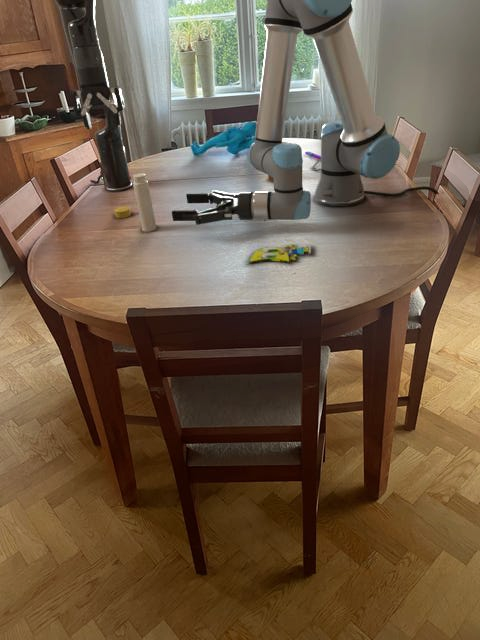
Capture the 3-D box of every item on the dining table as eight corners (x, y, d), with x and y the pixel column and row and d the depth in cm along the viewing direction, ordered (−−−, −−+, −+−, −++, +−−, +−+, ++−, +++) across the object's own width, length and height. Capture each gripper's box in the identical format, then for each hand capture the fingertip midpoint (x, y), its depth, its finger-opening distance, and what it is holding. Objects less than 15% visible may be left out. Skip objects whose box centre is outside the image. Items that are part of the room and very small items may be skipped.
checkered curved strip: (342, 175, 173) (362, 153, 185) (341, 169, 172) (361, 148, 184) (283, 174, 186) (305, 153, 198) (282, 169, 184) (305, 148, 196)
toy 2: (311, 260, 114) (248, 260, 116) (311, 263, 115) (248, 263, 117) (311, 242, 123) (252, 243, 125) (311, 245, 123) (253, 246, 125)
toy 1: (196, 135, 216) (258, 115, 205) (204, 158, 221) (266, 140, 210) (185, 145, 202) (251, 124, 192) (194, 169, 207) (259, 150, 197)
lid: (121, 212, 156) (120, 205, 155) (133, 213, 154) (132, 206, 153) (112, 217, 153) (110, 211, 151) (125, 218, 151) (123, 212, 150)
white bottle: (151, 232, 139) (140, 177, 131) (139, 231, 141) (128, 176, 132) (159, 227, 143) (149, 173, 134) (147, 225, 144) (137, 172, 136)
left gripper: (59, 68, 128) (75, 132, 137) (111, 64, 127) (124, 129, 135) (70, 65, 134) (84, 126, 143) (119, 61, 133) (131, 123, 142)
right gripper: (246, 237, 123) (168, 237, 128) (261, 203, 144) (194, 204, 148) (243, 209, 119) (163, 210, 124) (260, 178, 140) (190, 179, 144)
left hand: (104, 127), depth 139 cm, fingers open, 8 cm apart
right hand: (180, 206), depth 136 cm, fingers open, 13 cm apart
